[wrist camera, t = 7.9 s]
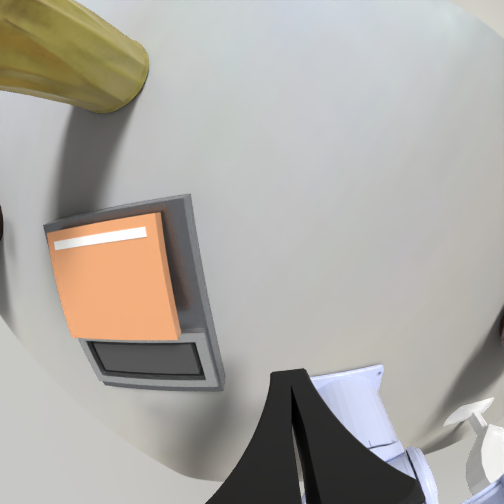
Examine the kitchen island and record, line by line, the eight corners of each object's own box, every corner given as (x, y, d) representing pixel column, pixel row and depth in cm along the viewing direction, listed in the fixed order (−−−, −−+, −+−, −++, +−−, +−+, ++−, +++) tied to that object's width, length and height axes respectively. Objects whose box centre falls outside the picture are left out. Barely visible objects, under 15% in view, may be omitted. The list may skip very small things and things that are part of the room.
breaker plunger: (203, 358, 22) (199, 373, 20) (113, 356, 23) (106, 369, 21) (195, 330, 21) (190, 345, 19) (102, 330, 22) (93, 343, 20)
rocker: (181, 333, 18) (177, 340, 17) (78, 332, 18) (71, 337, 17) (160, 212, 16) (154, 213, 15) (55, 231, 16) (46, 233, 15)
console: (225, 375, 23) (223, 395, 21) (112, 372, 24) (102, 389, 21) (190, 193, 18) (180, 199, 16) (57, 219, 19) (38, 227, 16)
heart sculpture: (499, 395, 28) (540, 456, 11) (484, 414, 30) (520, 475, 13) (453, 407, 27) (499, 492, 10) (435, 428, 29) (473, 510, 12)
